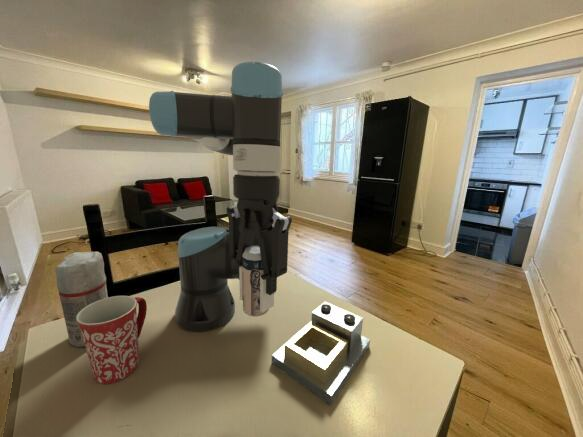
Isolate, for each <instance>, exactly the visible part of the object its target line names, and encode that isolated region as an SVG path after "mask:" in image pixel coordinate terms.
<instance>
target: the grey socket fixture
mask: <svg viewBox="0 0 583 437" xmlns="http://www.w3.org/2000/svg"><path fill="white" fill-rule="evenodd" d="M363 322H364V317H363V316H360V315H358V314H356V313H353V312H350V311H349V310H346V309H343V308H341V307H339V306H336V305H334V304H332V303H329V302H328V301H324V302H322V303H321V304H320V305H319V306H317V308H315V309H314V310H313V311H312V312H311V321H310V322H308V323H307V324H306V325H305V326H303V327H302V328H301V329H300V330H299V331H298V332H297V333H295V334H294V335H293V336H292V337H291V338H289V339H288V341H286V342H285V343H284V344H283V345H282V346H280V347H279V348H278V349H277V350H276V351H274V352H273V354H271V364H272V365H273V366H275V367H276V368H278V369H279V370H280V371H281V372H283V373H284V374H286V375H287V376H289V377H290V378H292V379H293V380H294V381H296V382H297V383H299V384H300V385H302V386H303V387H305V388H306V389H307V390H309V391H310V392H311V393H313V394H314V395H316V396H317V397H319V399H321V400H323V401H324V402H326V403H327V404H329V405H330V406H332V404H333V402H334V401H335V400H336V399H337V396H339V393H340V392H341V390H342V389H343V388H344V386H345V384H346V382H348V380H349V378H350V376H351V375H352V374H353V372H355V369H356V368H357V367H358V365H359V363H360V362H361V360H362V359H363V357H364V355H365V354H366V353H367V351H368V349H369V348H370V343H371V339H370V338H368V337H366V336H364V335H362V332H363V324H364V323H363Z"/></svg>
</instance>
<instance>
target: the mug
mask: <svg viewBox="0 0 583 437" xmlns="http://www.w3.org/2000/svg"><path fill="white" fill-rule="evenodd" d="M137 305H138V312H137ZM147 309H148V306H147V301H146V299H145V298H143V297H137V296H136V297H133V296H130V295H114V296H110V297H109V296H108V298H104V299H101V300H98V301H96V302H94V303H92V304H90V305H88V306H86V307H85V308H83V309H82V310H81V311H80V312H79V313H78V314H77V316H76V321H77V322H78V323H79V326H80V329H81V333H82V336H83V340H84V343H85V349H86V354H87V357H88V360H89V363H90V366H91V371H92V374H93V377H94V380H95V381H96V382H97V383H99V384H102V385H109V384H110V385H111V384H114V383H117V382H119V381H122V380H125V378H127V377H128V376H129V375H131V374H132V373H133V372H134V371H135V370H136V369H137V367H138V365H139V362H140V353H139V338H140V335H141V333H142V330H143V327H144V323H145V320H146V316H147V311H148V310H147Z"/></svg>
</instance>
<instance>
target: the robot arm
mask: <svg viewBox="0 0 583 437" xmlns="http://www.w3.org/2000/svg"><path fill="white" fill-rule="evenodd" d="M282 80H283V78H282V74H281V72H280V70H279V69H278V68H277V67H275V66H274V65H272V64H269V63H267V62H260V61H245V62H240V63H238V64H236V65H235V66H234V67H233V69H232V70H231V86H230V93H231V95H218V94H204V93H192V92H190V93H189V92H179V91H174V90H170V91H155V92H153V93H152V94H151V95H150V97H149V101H148V111H149V119H150V122H151V125H152V127H153V129H154V130H155V132H157V134H159V135H161V136H167V137H173V138H176V137H178V138H179V137H181V138H187V139H190V140H193V141H195V142H199V143H201V145H203V147H204V148H206V149H208V150H210V151H213V152H216V153H220V154H223V155H227V156H232V162H233V164H232V167H233V168H232V170H234V172H237V174H236V173H235V174H234V176H233V178H232V185H233V188H232V189H233V190H232V192H233V196H234V198H236V199H238V201H237V203H236V205H235V206H234V205H233V206H227V207H226V214H227V218H228V231H227V230H226V228H225V227H222V226H207V227H201V228H197V229H194V230H190V231H188V232H186V233H184V234H183V235H181V236H180V238H179V239H178V240H177V241H178V243H177V244H178V245H177V249H178V250H177V257H178V268H179V280H180V282H179V283H180V293H179V297H178V300H177V305H176V307H175V312H174V313H175V316H174V317H175V322H176V324H177V326H178V327H180V328H181V329H183V330H185V331H189V332H205V331H211V330H214V329H216V328H219V327H222V326H223V325H225V324H227V323H228V322H229V321H230V320H231V319H232V318H233V317H234V315H235V311H236V307H235V306H236V305H235V304H236V303H235V302H236V301H235V298H234V297H233V294H232V292H231V290H230V287H229V283H228V280H238V281H239V283H238V284H239V300H240V301H242V302H243V256H242V255H243V253H244V251H245V249H246V248H247V247H250V246H259V247H260V254H261V260H262V266H263V272H264V275H262V276H260V311H261V312H265V311H266V310H268V309H269V310H270V309H271V308H273V307H274V306H275V293H276V292H277V288H278V286H277V285H278V283H277V282H278V278H280V277H281V276H283V275H285V274H287V273H288V257H289V256H288V255H289V253H288V252H289V231H290V228H291V225H292V222H293V219H292V217H291V216H284V215H283V214H281V213H280V212H279V208H278V205H277V201H278V199H279V197H280V191H281V190H280V187H281V178H280V176H279V175H277V174H278V173H279V172H281V134H282V133H281V130H282V105H283V104H282V102H283V96H284V91H283V81H282ZM269 310H268V311H269Z"/></svg>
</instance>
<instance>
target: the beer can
mask: <svg viewBox="0 0 583 437" xmlns="http://www.w3.org/2000/svg"><path fill="white" fill-rule="evenodd" d="M242 256H243V301H242V311H243V313H244V314H245V315H247V316H250V317H254V318H255V317H261V316H264V315H265V314H267V313H268V312H269V310H270V309H268V310H266V311H265V312H261V311H260V276H262V275H264V272H263V266H262V260H261V254H260V247H259V246H250V247H247V248H246V249H245V251H244V253H243V255H242Z"/></svg>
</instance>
